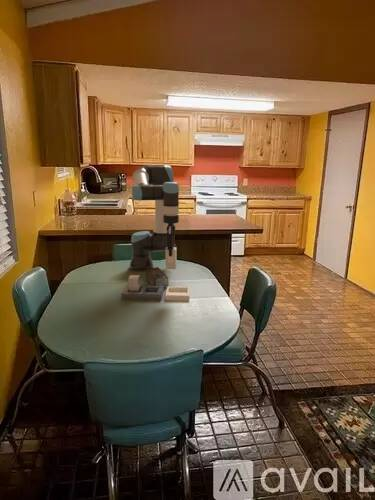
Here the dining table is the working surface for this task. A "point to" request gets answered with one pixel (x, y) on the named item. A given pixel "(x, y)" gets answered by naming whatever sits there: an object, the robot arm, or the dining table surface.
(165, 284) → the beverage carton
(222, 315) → the dining table surface
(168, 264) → the tan rectangular block
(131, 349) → the dining table surface
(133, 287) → the beige rectangular block
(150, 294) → the rack
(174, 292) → the tray
